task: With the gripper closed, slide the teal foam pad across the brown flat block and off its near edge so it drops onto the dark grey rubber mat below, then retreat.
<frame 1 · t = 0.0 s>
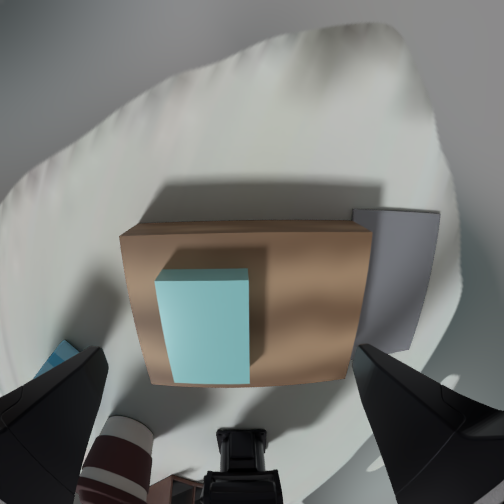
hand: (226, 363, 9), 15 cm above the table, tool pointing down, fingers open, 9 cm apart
coffee cup: (130, 428, 31), on the table
teal foam pad: (208, 324, 20), point 4 cm above the table, touching brown flat block
letter holder: (174, 490, 39), on the table
brown flat block: (246, 299, 24), on the table
mat: (388, 291, 25), on the table
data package: (68, 368, 27), on the table
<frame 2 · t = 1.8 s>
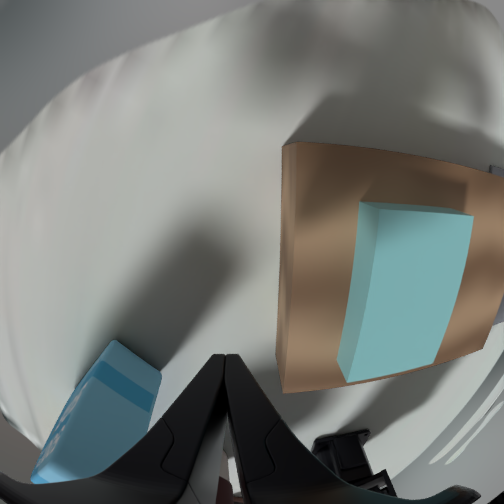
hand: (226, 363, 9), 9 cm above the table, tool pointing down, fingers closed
coffee cup: (194, 451, 24), on the table
teal foam pad: (398, 287, 13), point 4 cm above the table, touching brown flat block
brown flat block: (404, 260, 17), on the table
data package: (111, 381, 20), on the table
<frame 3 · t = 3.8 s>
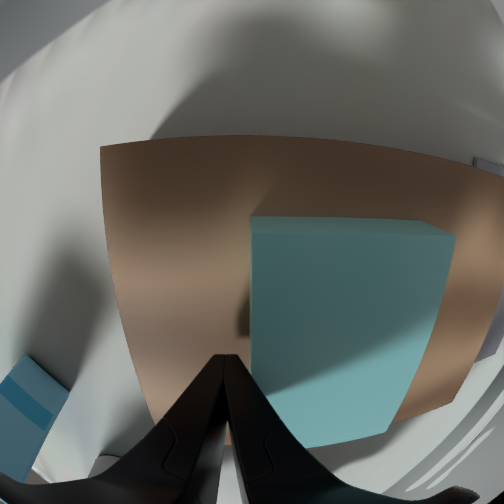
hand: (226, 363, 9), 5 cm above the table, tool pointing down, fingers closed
coffee cup: (128, 468, 20), on the table
teal foam pad: (330, 338, 10), point 4 cm above the table, touching gripper
brown flat block: (332, 293, 14), on the table
mat: (495, 278, 14), on the table
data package: (38, 393, 16), on the table
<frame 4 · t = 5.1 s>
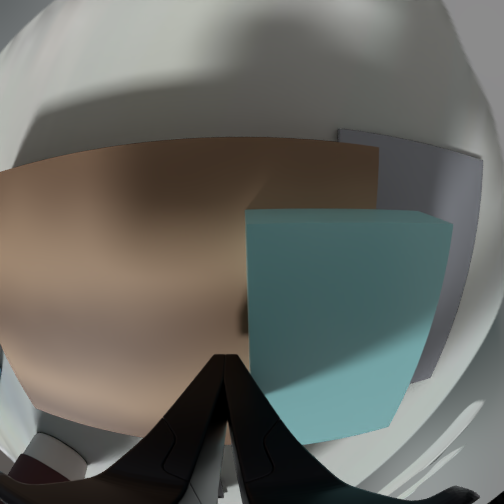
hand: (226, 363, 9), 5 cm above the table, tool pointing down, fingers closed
coffee cup: (61, 449, 19), on the table
teal foam pad: (330, 332, 10), point 4 cm above the table, touching gripper
brown flat block: (148, 295, 13), on the table
mat: (407, 288, 14), on the table
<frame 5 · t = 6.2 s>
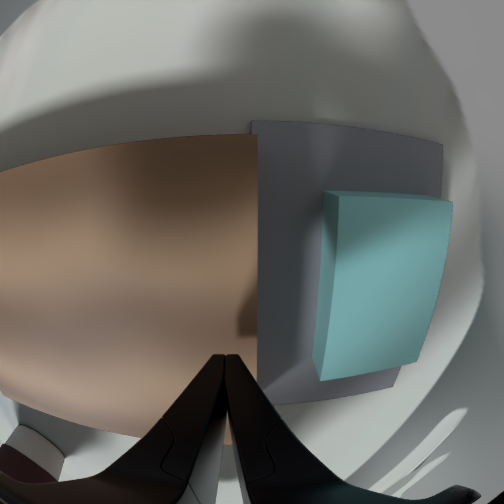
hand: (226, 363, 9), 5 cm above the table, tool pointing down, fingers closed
coffee cup: (41, 441, 19), on the table
teal foam pad: (391, 298, 11), point 2 cm above the table, tilted 180°, touching mat
brown flat block: (86, 292, 13), on the table
mat: (349, 290, 14), on the table
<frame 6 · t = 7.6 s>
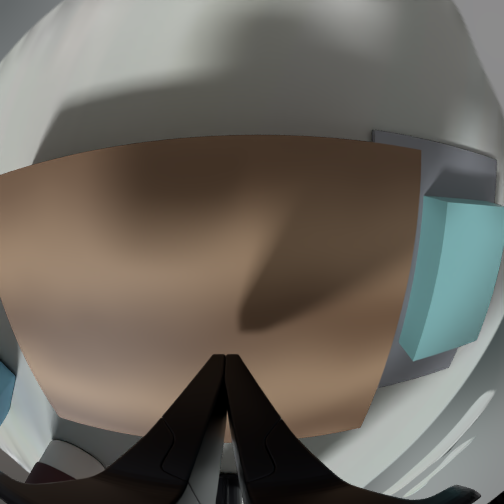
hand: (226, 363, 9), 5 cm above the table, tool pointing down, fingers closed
coffee cup: (78, 455, 20), on the table
teal foam pad: (469, 285, 12), point 2 cm above the table, tilted 180°, touching mat
brown flat block: (186, 294, 13), on the table
mat: (431, 280, 14), on the table
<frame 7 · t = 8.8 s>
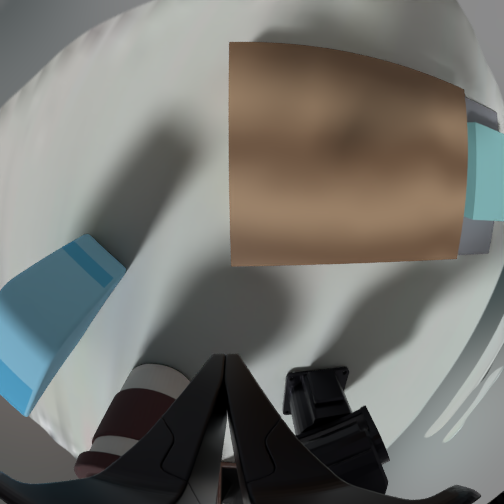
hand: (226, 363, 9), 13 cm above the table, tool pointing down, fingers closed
coffee cup: (162, 385, 25), on the table
teal foam pad: (493, 174, 17), point 2 cm above the table, tilted 180°, touching mat
letter holder: (213, 481, 34), on the table
brown flat block: (351, 156, 19), on the table
mat: (470, 176, 20), on the table
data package: (83, 291, 22), on the table
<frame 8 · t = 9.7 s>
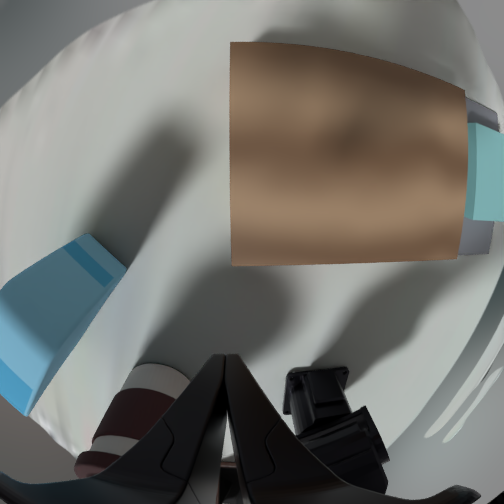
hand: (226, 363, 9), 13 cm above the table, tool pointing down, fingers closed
coffee cup: (162, 385, 25), on the table
teal foam pad: (493, 175, 17), point 2 cm above the table, tilted 180°, touching mat
letter holder: (214, 481, 34), on the table
brown flat block: (351, 157, 19), on the table
mat: (471, 176, 20), on the table
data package: (84, 291, 22), on the table
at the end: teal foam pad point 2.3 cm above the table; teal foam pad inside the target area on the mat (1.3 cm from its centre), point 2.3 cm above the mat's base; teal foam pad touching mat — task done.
